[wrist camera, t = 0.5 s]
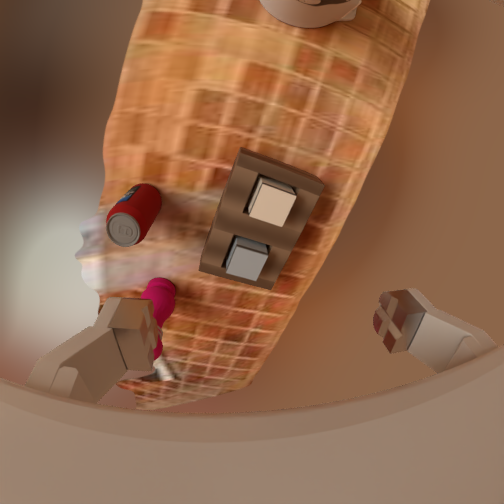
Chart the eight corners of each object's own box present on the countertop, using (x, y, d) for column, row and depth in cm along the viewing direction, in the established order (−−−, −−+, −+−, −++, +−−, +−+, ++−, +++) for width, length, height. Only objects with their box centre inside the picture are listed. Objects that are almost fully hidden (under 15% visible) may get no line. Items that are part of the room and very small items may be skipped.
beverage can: (131, 177, 44) (104, 204, 34) (166, 187, 46) (147, 216, 35) (125, 211, 47) (100, 244, 37) (158, 220, 49) (141, 256, 39)
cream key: (259, 174, 43) (262, 183, 39) (290, 185, 44) (297, 196, 40) (247, 204, 46) (248, 216, 42) (277, 214, 47) (282, 227, 43)
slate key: (236, 231, 48) (236, 246, 44) (265, 240, 50) (268, 255, 46) (226, 256, 51) (225, 273, 47) (254, 264, 52) (256, 281, 48)
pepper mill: (139, 283, 56) (112, 357, 39) (164, 270, 55) (141, 346, 38) (159, 305, 60) (141, 379, 43) (184, 293, 58) (171, 371, 41)
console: (240, 147, 43) (240, 153, 39) (316, 176, 46) (324, 185, 42) (201, 255, 53) (198, 270, 49) (268, 274, 57) (270, 290, 52)
